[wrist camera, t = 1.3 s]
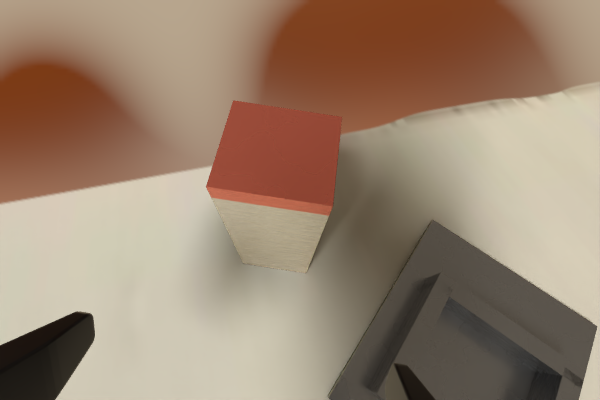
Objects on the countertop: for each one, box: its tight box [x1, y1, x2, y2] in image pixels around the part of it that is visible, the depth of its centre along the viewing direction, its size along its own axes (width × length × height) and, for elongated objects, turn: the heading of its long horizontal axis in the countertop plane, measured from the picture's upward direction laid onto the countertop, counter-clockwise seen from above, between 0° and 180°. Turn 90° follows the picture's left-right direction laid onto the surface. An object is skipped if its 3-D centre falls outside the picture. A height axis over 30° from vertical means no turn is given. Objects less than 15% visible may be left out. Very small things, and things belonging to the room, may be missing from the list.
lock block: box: [206, 101, 342, 273], centre depth 18 cm, size 5×5×13 cm
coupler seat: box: [328, 220, 597, 400], centre depth 20 cm, size 16×14×3 cm
